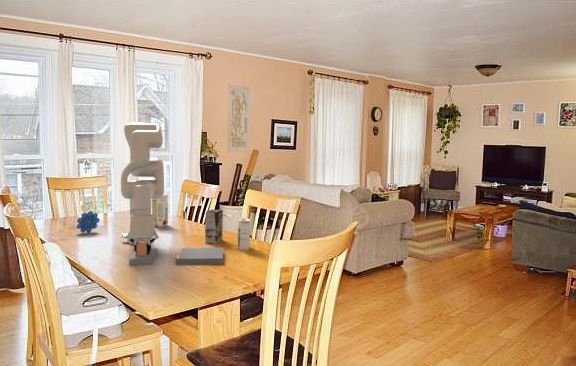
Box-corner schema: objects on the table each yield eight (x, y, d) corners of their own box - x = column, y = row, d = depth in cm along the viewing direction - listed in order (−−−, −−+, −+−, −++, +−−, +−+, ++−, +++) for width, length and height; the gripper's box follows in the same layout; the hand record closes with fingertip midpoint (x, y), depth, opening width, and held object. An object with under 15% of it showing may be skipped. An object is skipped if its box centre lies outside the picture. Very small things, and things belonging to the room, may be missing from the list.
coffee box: (216, 243, 235) (217, 212, 234) (204, 243, 237) (204, 211, 235) (222, 239, 244) (223, 209, 242) (211, 238, 246) (211, 208, 244)
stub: (129, 264, 196) (128, 247, 195) (137, 253, 213) (137, 237, 213) (151, 264, 197) (150, 247, 196) (157, 253, 215) (157, 237, 214)
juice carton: (170, 225, 277) (169, 193, 275) (158, 227, 270) (158, 195, 268) (161, 223, 281) (160, 192, 279) (150, 225, 274) (149, 194, 272)
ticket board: (175, 264, 198) (175, 258, 198) (179, 253, 216) (179, 247, 216) (222, 263, 201) (222, 257, 200) (223, 252, 218) (223, 247, 218)
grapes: (98, 230, 260) (98, 208, 259) (100, 232, 254) (100, 210, 253) (75, 232, 254) (75, 210, 253) (77, 234, 249) (76, 212, 247)
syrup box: (238, 247, 230) (238, 218, 228) (250, 247, 231) (250, 218, 229) (237, 249, 224) (238, 220, 223) (250, 249, 225) (250, 220, 223)
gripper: (120, 213, 198) (121, 255, 200) (160, 213, 200) (161, 255, 202) (124, 210, 205) (124, 251, 207) (163, 210, 208) (163, 250, 210)
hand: (142, 252), depth 205 cm, fingers closed on stub, 4 cm apart
